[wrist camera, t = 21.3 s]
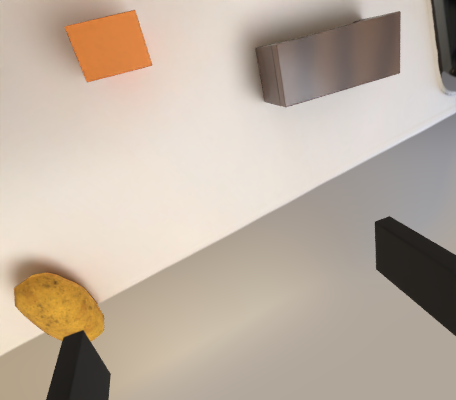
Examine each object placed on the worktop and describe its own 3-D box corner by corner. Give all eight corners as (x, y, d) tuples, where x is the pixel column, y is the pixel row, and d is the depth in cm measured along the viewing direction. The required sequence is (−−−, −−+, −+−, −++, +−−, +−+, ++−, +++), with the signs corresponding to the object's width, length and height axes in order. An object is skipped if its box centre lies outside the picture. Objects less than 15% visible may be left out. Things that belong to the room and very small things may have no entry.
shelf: (264, 101, 44) (285, 107, 38) (255, 48, 41) (276, 44, 35) (364, 72, 46) (400, 73, 40) (362, 19, 43) (400, 11, 37)
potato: (56, 248, 44) (48, 278, 38) (114, 305, 51) (115, 338, 45) (6, 278, 43) (-10, 313, 38) (72, 331, 50) (67, 368, 45)
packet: (100, 78, 38) (87, 82, 28) (84, 37, 36) (63, 26, 26) (148, 66, 39) (152, 65, 29) (135, 25, 37) (134, 9, 27)
